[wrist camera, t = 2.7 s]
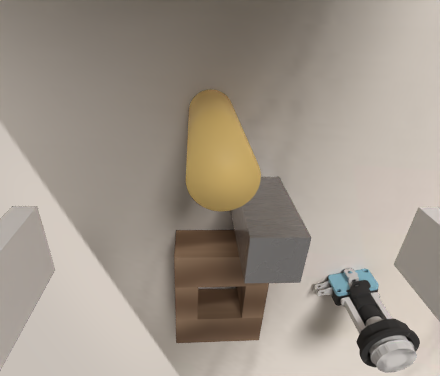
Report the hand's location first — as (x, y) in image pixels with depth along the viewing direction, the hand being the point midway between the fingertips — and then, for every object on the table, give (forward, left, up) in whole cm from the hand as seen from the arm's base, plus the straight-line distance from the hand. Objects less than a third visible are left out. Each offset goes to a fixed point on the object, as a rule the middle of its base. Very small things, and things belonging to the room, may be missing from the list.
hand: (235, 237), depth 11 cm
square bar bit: (+8, +4, -16) cm, 19 cm away
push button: (+19, +16, -17) cm, 30 cm away
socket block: (+18, +1, -16) cm, 24 cm away
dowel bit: (0, 0, -16) cm, 16 cm away
